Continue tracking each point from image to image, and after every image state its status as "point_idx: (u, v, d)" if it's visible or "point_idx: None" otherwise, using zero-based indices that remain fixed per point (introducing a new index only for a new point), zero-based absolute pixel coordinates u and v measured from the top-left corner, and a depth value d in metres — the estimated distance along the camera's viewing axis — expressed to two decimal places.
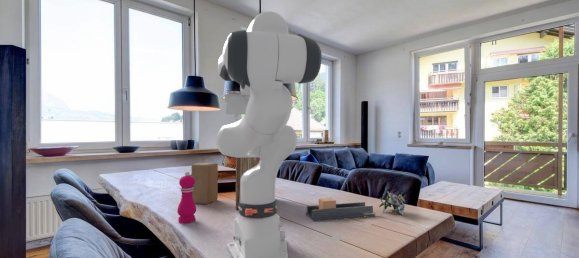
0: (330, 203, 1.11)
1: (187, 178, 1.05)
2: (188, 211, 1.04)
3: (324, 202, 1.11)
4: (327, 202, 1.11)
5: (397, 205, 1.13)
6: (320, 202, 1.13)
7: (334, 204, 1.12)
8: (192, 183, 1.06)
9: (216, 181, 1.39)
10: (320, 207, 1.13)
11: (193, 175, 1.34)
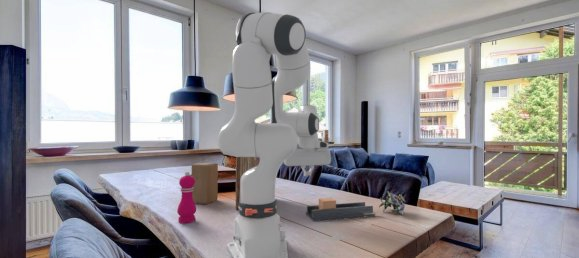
0: (330, 203, 1.11)
1: (187, 178, 1.05)
2: (188, 211, 1.04)
3: (324, 202, 1.11)
4: (327, 202, 1.11)
5: (397, 205, 1.13)
6: (320, 202, 1.13)
7: (334, 204, 1.12)
8: (192, 183, 1.06)
9: (216, 181, 1.39)
10: (320, 207, 1.13)
11: (193, 175, 1.34)
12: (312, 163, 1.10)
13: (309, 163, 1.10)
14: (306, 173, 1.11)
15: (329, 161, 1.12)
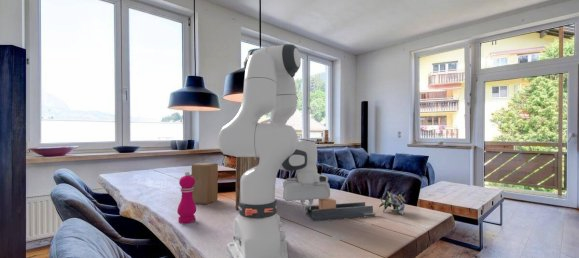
0: (330, 203, 1.11)
1: (187, 178, 1.05)
2: (188, 211, 1.04)
3: (324, 202, 1.11)
4: (327, 202, 1.11)
5: (397, 205, 1.13)
6: (320, 202, 1.13)
7: (334, 204, 1.12)
8: (192, 183, 1.06)
9: (216, 181, 1.39)
10: (320, 207, 1.13)
11: (193, 175, 1.34)
12: (311, 197, 1.10)
13: (308, 197, 1.10)
14: (305, 207, 1.11)
15: (328, 195, 1.12)
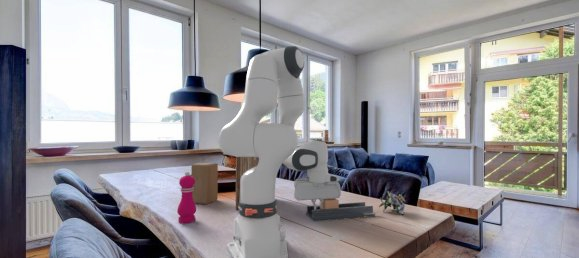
0: (333, 203, 1.12)
1: (187, 178, 1.05)
2: (188, 211, 1.04)
3: (327, 202, 1.11)
4: (330, 202, 1.11)
5: (397, 205, 1.13)
6: (323, 202, 1.13)
7: (337, 204, 1.12)
8: (192, 183, 1.06)
9: (216, 181, 1.39)
10: (323, 207, 1.13)
11: (193, 175, 1.34)
12: (322, 197, 1.11)
13: (319, 197, 1.11)
14: (316, 207, 1.12)
15: (339, 194, 1.13)
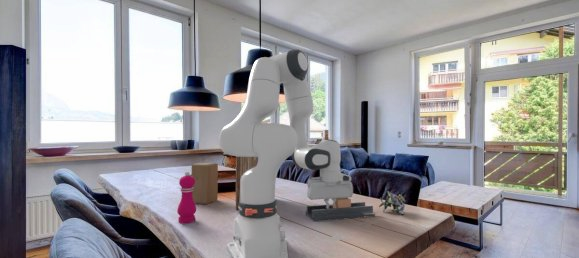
0: (345, 202, 1.13)
1: (187, 178, 1.05)
2: (188, 211, 1.04)
3: (339, 201, 1.12)
4: (342, 201, 1.13)
5: (397, 205, 1.13)
6: None
7: (349, 203, 1.13)
8: (192, 183, 1.06)
9: (216, 181, 1.39)
10: (335, 206, 1.15)
11: (193, 175, 1.34)
12: (335, 196, 1.13)
13: (332, 196, 1.12)
14: (329, 206, 1.13)
15: (351, 194, 1.15)
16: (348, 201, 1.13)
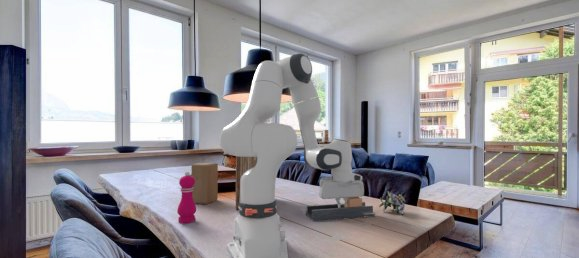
0: (356, 201, 1.14)
1: (187, 178, 1.05)
2: (188, 211, 1.04)
3: (351, 200, 1.14)
4: (354, 200, 1.14)
5: (397, 205, 1.13)
6: None
7: (360, 202, 1.15)
8: (192, 183, 1.06)
9: (216, 181, 1.39)
10: (346, 205, 1.16)
11: (193, 175, 1.34)
12: (346, 195, 1.14)
13: (343, 195, 1.14)
14: (340, 205, 1.14)
15: (362, 193, 1.16)
16: (359, 200, 1.15)
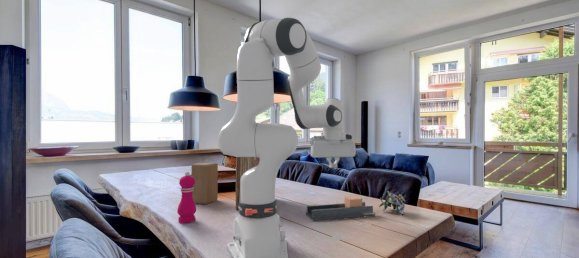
0: (357, 201, 1.14)
1: (187, 178, 1.05)
2: (188, 211, 1.04)
3: (351, 200, 1.14)
4: (354, 200, 1.14)
5: (397, 205, 1.13)
6: (346, 200, 1.16)
7: (360, 202, 1.15)
8: (192, 183, 1.06)
9: (216, 181, 1.39)
10: (346, 205, 1.16)
11: (193, 175, 1.34)
12: (338, 155, 1.13)
13: (335, 155, 1.13)
14: (332, 164, 1.14)
15: (354, 153, 1.15)
16: (359, 200, 1.15)
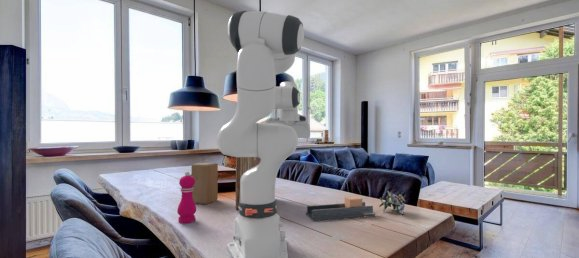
0: (357, 201, 1.14)
1: (187, 178, 1.05)
2: (188, 211, 1.04)
3: (351, 200, 1.14)
4: (354, 200, 1.14)
5: (397, 205, 1.13)
6: (346, 200, 1.16)
7: (360, 202, 1.15)
8: (192, 183, 1.06)
9: (216, 181, 1.39)
10: (346, 205, 1.16)
11: (193, 175, 1.34)
12: None
13: None
14: None
15: (308, 134, 1.21)
16: (359, 200, 1.15)
